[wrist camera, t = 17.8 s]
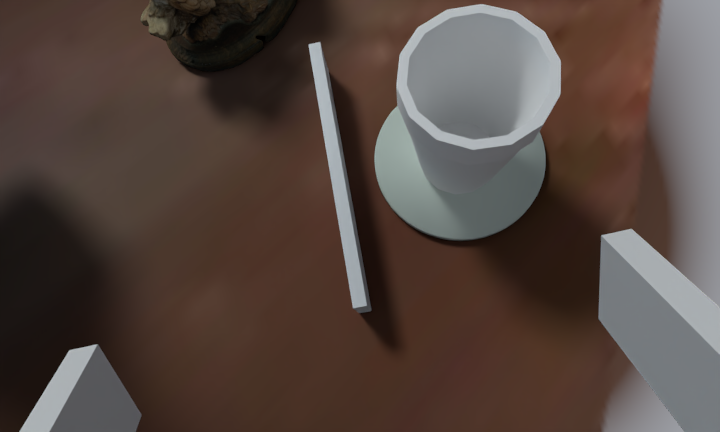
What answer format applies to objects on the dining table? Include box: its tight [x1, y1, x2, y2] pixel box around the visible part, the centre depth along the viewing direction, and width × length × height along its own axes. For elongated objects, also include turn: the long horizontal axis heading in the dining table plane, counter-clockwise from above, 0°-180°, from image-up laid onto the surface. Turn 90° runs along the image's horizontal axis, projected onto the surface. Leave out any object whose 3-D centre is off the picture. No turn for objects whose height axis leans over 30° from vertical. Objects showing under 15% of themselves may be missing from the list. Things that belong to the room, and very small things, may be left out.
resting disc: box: [374, 106, 546, 241], centre depth 42 cm, size 14×14×1 cm
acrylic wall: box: [308, 42, 372, 313], centre depth 41 cm, size 22×1×4 cm, turn 10°
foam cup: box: [396, 4, 561, 194], centre depth 35 cm, size 10×9×13 cm
